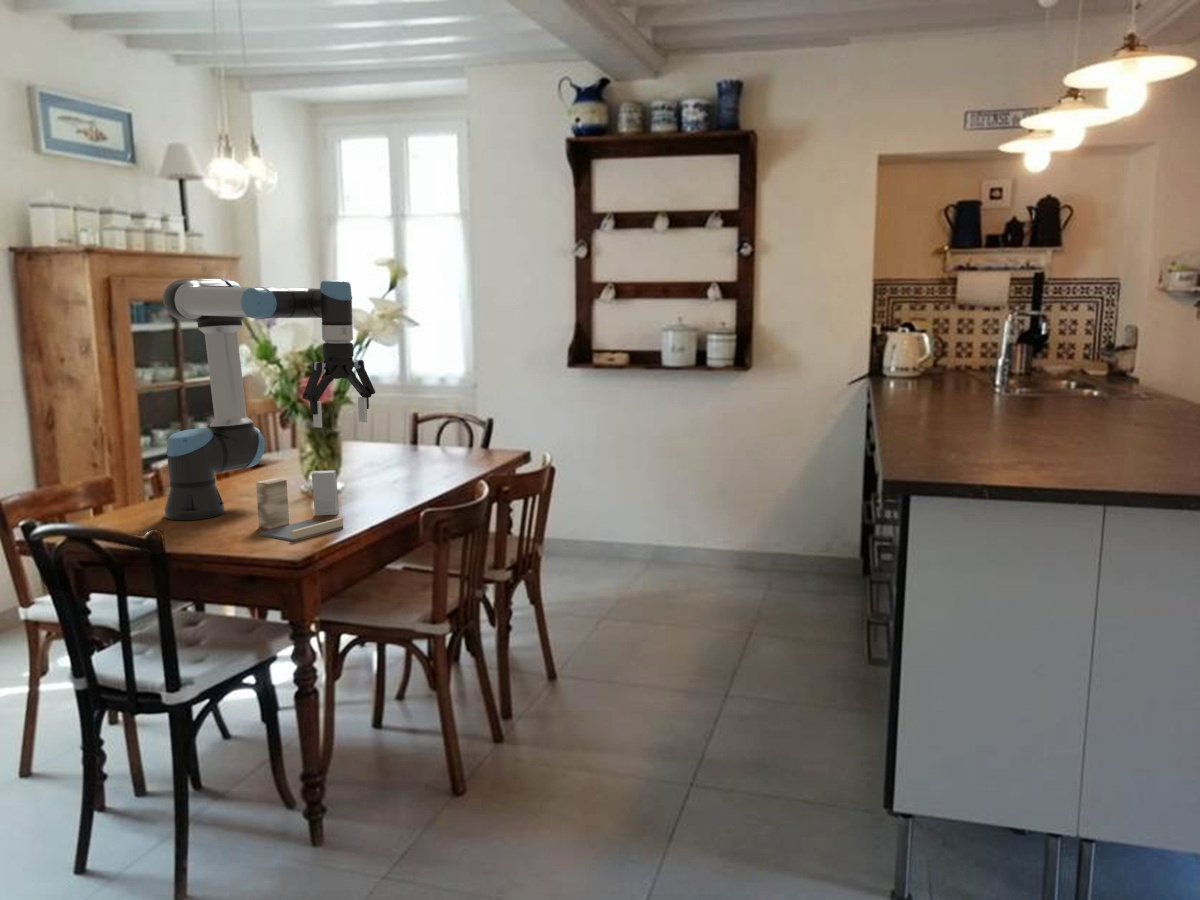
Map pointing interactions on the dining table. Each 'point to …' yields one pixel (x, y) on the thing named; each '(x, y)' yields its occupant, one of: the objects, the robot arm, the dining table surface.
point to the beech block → (272, 503)
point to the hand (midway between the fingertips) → (340, 424)
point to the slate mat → (304, 529)
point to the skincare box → (325, 492)
